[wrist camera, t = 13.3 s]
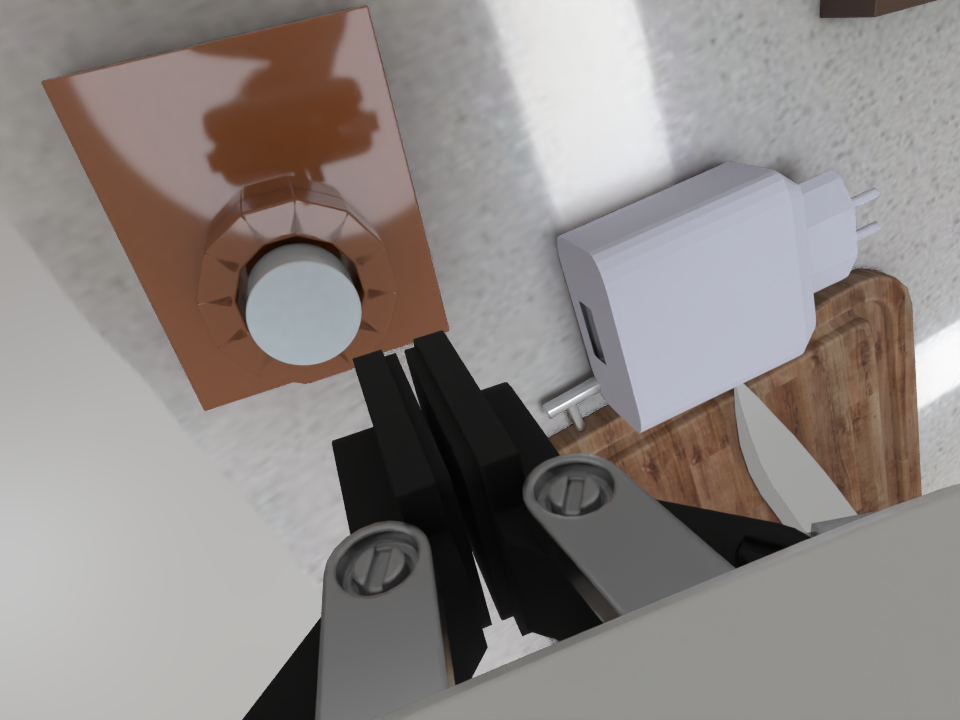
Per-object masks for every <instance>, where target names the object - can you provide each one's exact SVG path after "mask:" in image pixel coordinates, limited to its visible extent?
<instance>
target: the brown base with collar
mask: <svg viewBox="0 0 960 720" xmlns="http://www.w3.org/2000/svg"><path fill="white" fill-rule="evenodd" d="M42 85H43V87H44V89H45V91H46V93H47V95H48V97H49V99H50V101H51V103H52V105H53V107H54V109H55V111H56V113H57V115H58V117H59V119H60V121H61V123H62V125H63V128H64V130H65V132H66V134H67V136H68V138H69V140H70V142H71V144H72V146H73V148H74V150H75V152H76V154H77V156H78V158H79V160H80V162H81V164H82V166H83V168H84V170H85V172H86V174H87V176H88V178H89V180H90V182H91V184H92V186H93V188H94V190H95V192H96V194H97V196H98V198H99V200H100V202H101V204H102V206H103V208H104V210H105V212H106V214H107V216H108V218H109V220H110V222H111V224H112V226H113V228H114V230H115V232H116V234H117V236H118V238H119V240H120V242H121V244H122V246H123V248H124V250H125V252H126V254H127V256H128V258H129V260H130V262H131V264H132V266H133V268H134V270H135V272H136V274H137V276H138V278H139V280H140V282H141V284H142V286H143V288H144V291H145V293H146V295H147V297H148V299H149V301H150V303H151V305H152V307H153V309H154V311H155V313H156V315H157V317H158V319H159V321H160V323H161V325H162V327H163V329H164V331H165V333H166V335H167V337H168V339H169V341H170V343H171V345H172V347H173V349H174V351H175V353H176V355H177V357H178V359H179V361H180V363H181V365H182V367H183V369H184V371H185V373H186V375H187V377H188V379H189V381H190V383H191V385H192V387H193V389H194V391H195V393H196V395H197V397H198V399H199V401H200V403H201V405H202V407H203V409H204V411H207V410H210V409H213V408H216V407H219V406H222V405H225V404H228V403H231V402H234V401H237V400H240V399H243V398H246V397H249V396H252V395H255V394H258V393H261V392H264V391H267V390H271V389H274V388H277V387H280V386H283V385H286V384H289V383H292V382H296V383H303V384H307V383H312V382H315V381H318V380H321V379H324V378H327V377H330V376H333V375H336V374H339V373H342V372H345V371H348V370H351V369H352V368H355V366H354V363H353V360H352V359H353V358H356V357H359V356H362V355H365V354H368V353H371V352H375V351H378V350H381V349H382V352H386V351H389V350H392V349H395V348H398V347H401V346H405V345H408V344H411V343H414V342H413V339H415V338H418V337H422V336H425V335H428V334H431V333H434V332H437V331H440V330H443V331H444V332H447V331H449V326H448V322H447V318H446V314H445V310H444V306H443V302H442V298H441V294H440V290H439V286H438V282H437V279H436V275H435V271H434V267H433V263H432V259H431V255H430V251H429V247H428V243H427V239H426V235H425V231H424V227H423V223H422V219H421V215H420V211H419V207H418V203H417V199H416V195H415V191H414V187H413V183H412V179H411V175H410V171H409V167H408V163H407V159H406V155H405V151H404V147H403V143H402V140H401V136H400V132H399V128H398V124H397V120H396V116H395V112H394V108H393V104H392V100H391V96H390V92H389V88H388V84H387V80H386V76H385V72H384V68H383V64H382V60H381V56H380V52H379V48H378V44H377V40H376V36H375V32H374V28H373V24H372V20H371V16H370V12H369V8H368V6H366V5H365V6H360V7H354V8H349V9H345V10H341V11H337V12H332V13H328V14H324V15H319V16H315V17H311V18H307V19H302V20H298V21H294V22H289V23H285V24H281V25H277V26H272V27H268V28H264V29H259V30H255V31H251V32H247V33H242V34H238V35H234V36H229V37H225V38H221V39H217V40H212V41H208V42H204V43H199V44H195V45H191V46H186V47H182V48H178V49H174V50H169V51H165V52H161V53H156V54H152V55H148V56H144V57H139V58H135V59H131V60H126V61H122V62H118V63H114V64H109V65H105V66H101V67H96V68H92V69H88V70H84V71H79V72H75V73H71V74H66V75H63V76H59V77H55V78H51V79H48V80H44V81H42ZM295 243H305V244H312V245H315V246H319V247H321V248H324V249H326V250H327V251H329V252H331V253H332V254H334V255H335V256H336V257H337V258H338V259H339V260H340V261H341V262H342V263H343V264H344V265H345V267H346V268H347V270H348V272H349V274H350V276H351V279H352V281H353V283H354V286H355V288H356V290H357V293H358V295H359V298H360V302H361V309H362V316H361V323H360V326H359V329H358V332H357V334H356V336H355V338H354V339H353V341H352V342H351V343H350V344H349V346H348V347H347V348H346V349H345V350H344V351H342V352H341V353H340V354H338V355H337V356H335V357H334V358H332V359H330V360H327V361H325V362H322V363H318V364H313V365H293V364H288V363H285V362H282V361H279V360H277V359H275V358H273V357H271V356H270V355H268V354H267V353H265V352H264V351H263V350H262V349H261V348H260V347H259V346H258V345H257V344H256V342H255V341H254V340H253V338H252V336H251V334H250V332H249V329H248V326H247V322H246V283H247V280H248V277H249V274H250V272H251V270H252V268H253V267H254V265H255V264H256V263H257V262H258V260H259V259H261V258H262V257H263V256H264V255H265V254H267V253H268V252H270V251H271V250H273V249H275V248H278V247H280V246H283V245H288V244H295Z"/></svg>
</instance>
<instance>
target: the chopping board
mask: <svg viewBox="0 0 960 720" xmlns="http://www.w3.org/2000/svg"><path fill="white" fill-rule="evenodd" d="M813 294H814V304H815V313H816V327H815V329H814V331H813V333H812V336H811V338H810V340H809V342H808V344H807V346H806V349H805V351H804V353H803V354H802V355H800V356H798V357H796V358H794V359H792V360H790V361H788V362H786V363H784V364H782V365H780V366H778V367H776V368H774V369H772V370H769V371H767V372H765V373H763V374H761V375H759V376H757V377H755V378H753V379H751V380H749V381H747V382H745V383H743V384H741V385H738V386H736V387H734V388H732V389H730V390H728V391H726V392H724V393H722V394H720V395H718V396H716V397H714V398H712V399H710V400H708V401H705V402H703V403H701V404H699V405H697V406H695V407H693V408H691V409H689V410H687V411H685V412H683V413H681V414H679V415H677V416H674V417H672V418H670V419H668V420H666V421H664V422H662V423H660V424H658V425H656V426H654V427H652V428H650V429H648V430H646V431H643V432H641V433H638V432H636V431H635V430H634V429H633V428H632V427H631V426H630V425H629V424H628V423H627V422H626V421H625V420H624V419H623V418H622V417H621V416H620V415H619V414H618V413H617V412H616V411H615V410H614V409H613V408H612V407H611V406H610V405H607V406H605V407H604V408H602V409H600V410H598V411H596V412H595V413H593V414H591V415H589V416H588V417H586V418H584V419H582V417H581V414H580V412H579V410H578V407H577V405H576V404H578V403H580V402H581V401H583V400H585V399H587V398H588V397H590V396H592V395H594V394H596V393H597V392H599V391H601V387H600V384H599V382H598V380H597V379H596V377H595V376H594V377H592V378H590V379H588V380H586V381H585V382H583V383H581V384H579V385H577V386H576V387H574V388H572V389H570V390H568V391H567V392H565V393H563V394H561V395H559V396H558V397H556V398H554V399H552V400H550V401H549V402H547V403H545V404H543V406H542V407H543V410H544V412H545V414H546V415H547V417H548V418H550V419H551V418H553V417H554V416H556V415H558V414H560V413H562V412H563V411H565V410H568V412H569V415H570V417H571V420H572V422H573V425H571V426H570V427H568V428H566V429H564V430H563V431H561V432H559V433H557V434H555V435H554V436H552V437H550V438H548V439H549V440H550V442H551V443H552V444H553V446H554V447H555V449H556V450H557V451H558V453H559V454H560V455H566V454H574V453H580V454H592V455H595V456H599V457H602V458H605V459H607V460H608V461H610V462H611V463H613V464H615V465H616V466H617V467H618V468H620V469H621V470H622V471H623V472H624V473H625V474H627V475H628V476H629V477H630V478H631V479H632V480H634V481H635V482H636V483H637V484H638V485H639V486H641V487H642V488H643V489H644V490H645V491H646V492H648V493H649V494H650V495H651V496H652V497H653V498H654V499H657V500H662V501H667V502H672V503H677V504H683V505H688V506H693V507H698V508H703V509H708V510H714V511H719V512H724V513H729V514H734V515H740V516H745V517H750V518H755V519H760V520H766V521H771V522H776V523H780V524H783V525H786V526H790V527H793V528H796V529H798V530H799V531H801V532H803V533H809V532H811V523H816V522H822V521H827V520H833V519H838V518H843V517H849V516H854V515H860V514H865V513H870V512H876V511H881V510H884V509H886V508H889V507H891V506H894V505H897V504H900V503H903V502H906V501H909V500H912V499H915V498H918V497H920V496H922V493H921V473H920V453H919V432H918V412H917V392H916V372H915V352H914V332H913V311H912V302H911V299H910V295H909V292H908V288H907V287H906V286H905V285H903V284H902V283H901V282H900V281H899V280H898V279H896V278H895V277H892V276H890V275H887V274H885V273H882V272H879V271H877V270H868V269H856V270H853V271H851V272H850V274H849V276H847V277H846V278H844V279H843V280H841V281H838V282H836V283H834V284H832V285H830V286H828V287H826V288H824V289H822V290H819V291H817V292H815V293H813ZM551 639H552V638H551ZM552 641H553V640H552Z"/></svg>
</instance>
